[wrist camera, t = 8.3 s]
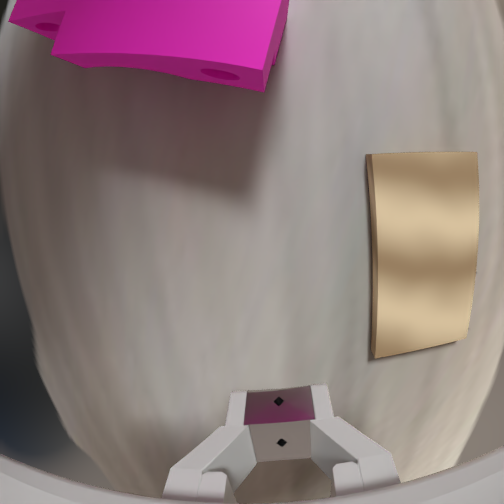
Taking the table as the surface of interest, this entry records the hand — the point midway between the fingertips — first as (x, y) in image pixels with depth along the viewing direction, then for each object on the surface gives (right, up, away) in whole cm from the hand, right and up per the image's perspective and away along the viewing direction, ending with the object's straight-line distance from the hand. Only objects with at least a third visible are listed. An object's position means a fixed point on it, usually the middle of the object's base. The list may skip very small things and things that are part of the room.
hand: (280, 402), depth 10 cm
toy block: (-7, +16, 0) cm, 18 cm away
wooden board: (+11, +5, +11) cm, 16 cm away
